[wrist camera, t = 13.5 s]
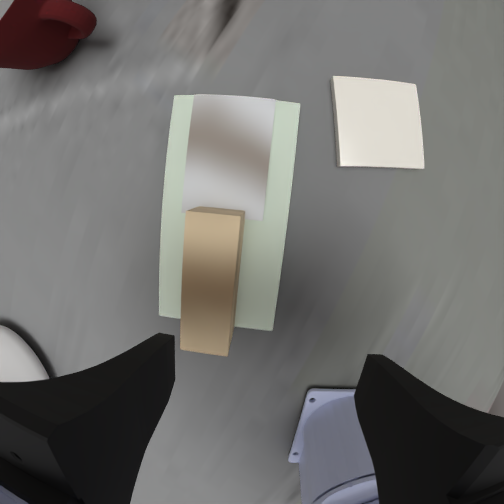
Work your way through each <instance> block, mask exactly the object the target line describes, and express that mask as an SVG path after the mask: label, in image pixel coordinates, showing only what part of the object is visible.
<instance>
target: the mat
mask: <svg viewBox="0 0 504 504" xmlns="http://www.w3.org/2000/svg"><path fill="white" fill-rule="evenodd" d="M193 100H194V95H175V96H174V102H173V109H172V117H171V124H170V132H169V140H168V149H167V158H166V168H165V179H164V191H163V204H162V220H161V239H160V266H159V316H165V317H171V318H178V319H181V287H182V263H183V245H184V229H185V215H186V213H181V211H182V198H183V186H184V176H185V165H186V156H187V147H188V138H189V130H190V122H191V114H192V107H193ZM299 111H300V103H292V102H284V101H276V103H275V113H274V122H273V132H272V141H271V150H270V159H269V169H268V178H267V187H266V196H265V205H264V214H263V221H257V220H248V219H245V223H244V233H243V243H242V252H241V262H240V272H239V282H238V293H237V303H236V313H235V324H234V327H242V328H250V329H259V330H268V331H272V330H273V324H274V317H275V310H276V303H277V296H278V289H279V282H280V275H281V267H282V260H283V252H284V245H285V237H286V229H287V221H288V213H289V205H290V196H291V188H292V179H293V170H294V161H295V151H296V142H297V132H298V122H299Z"/></svg>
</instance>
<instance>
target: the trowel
mask: <svg viewBox="0 0 504 504" xmlns="http://www.w3.org/2000/svg"><path fill="white" fill-rule="evenodd" d="M275 103H276V99H268V98H258V97H246V96H231V95H209V94H194V100H193V107H192V114H191V122H190V130H189V138H188V147H187V156H186V165H185V176H184V186H183V198H182V211H181V213H186V215H185V229H184V245H183V263H182V287H181V324H180V349H181V350H187V351H193V352H199V353H206V354H212V355H219V356H227V357H228V352H229V348H230V344H231V339H232V335H233V330H234V324H235V313H236V303H237V293H238V282H239V272H240V262H241V252H242V243H243V233H244V223H245V219H248V220H257V221H263V214H264V205H265V196H266V187H267V178H268V169H269V159H270V150H271V141H272V132H273V122H274V113H275Z"/></svg>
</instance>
